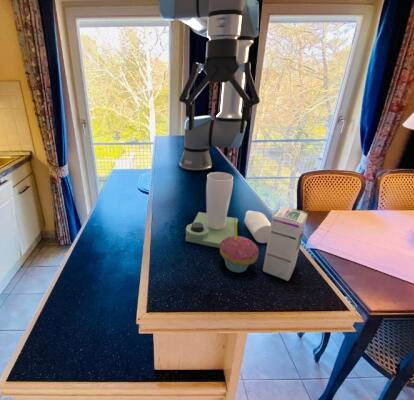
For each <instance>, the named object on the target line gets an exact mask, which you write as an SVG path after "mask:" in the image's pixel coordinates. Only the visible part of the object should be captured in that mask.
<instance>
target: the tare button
mask: <svg viewBox="0 0 414 400" xmlns="http://www.w3.org/2000/svg"><path fill="white" fill-rule="evenodd" d="M192 223H193V222H192ZM192 223H191V224H192ZM192 231H193V232H202V231H203V224H202V223H199V222H195V223H193V224H192Z"/></svg>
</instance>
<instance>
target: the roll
mask: <svg viewBox="0 0 414 400" xmlns="http://www.w3.org/2000/svg"><path fill="white" fill-rule="evenodd" d="M243 222H244V223H243V224H244V225H245V226H246V228H247V229H248V231H249V232H250V234H251V236H252V237H253V238H254V240H255V241H256V242H258V243H260V244H267V242H268V237H269V232H270V226H271V222H270V221H269V219H268V217H267V216H266V215H265V214H264V213H263V212H260V211H253V210H246V212H245V216H244V219H243Z"/></svg>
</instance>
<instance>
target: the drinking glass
mask: <svg viewBox="0 0 414 400" xmlns="http://www.w3.org/2000/svg"><path fill="white" fill-rule="evenodd" d="M233 187H234V176H233V175H232V174H231V173H228V172H221V171H214V172H209V173H208V174H207V175H206V184H205V205H206V208H205V209H206V210H205V211H206V212H205V213H206V225H207V226H208V227H209V228H211V229H215V230H219V229H222V228H224V227H225V223H226V217H228V212H229V208H230V202H231V197H232V192H233Z"/></svg>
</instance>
